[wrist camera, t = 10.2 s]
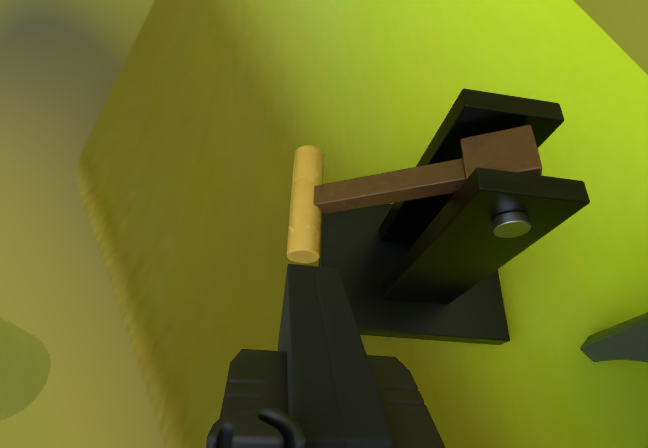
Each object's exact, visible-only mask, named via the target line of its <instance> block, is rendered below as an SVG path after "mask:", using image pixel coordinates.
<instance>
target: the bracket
mask: <svg viewBox="0 0 648 448" xmlns="http://www.w3.org/2000/svg"><path fill="white" fill-rule="evenodd" d="M563 122H564V117H563V114H562V111H561V107H560V104H558V103H553V102H547V101H540V100H534V99H527V98H521V97H515V96H508V95H502V94H495V93H489V92H482V91H476V90H470V89H463V90H462V91H461V93H460V94H459V96H458V98H457V99H456V101H455V103H454V104H453V106H452V108H451V109H450V111H449V113H448V114H447V116H446V118H445V119H444V121H443V123H442V124H441V126H440V128H439V129H438V131H437V133H436V134H435V136H434V138H433V139H432V141H431V143H430V144H429V146H428V148H427V149H426V151H425V152H424V154H423V156H422V157H421V159H420V161H419V162H418V164H417V166H416V167H419V166H425V165H430V164H435V163H441V162H446V161H451V160H457V159H463V155H462V149H461V142H460V140H461V139H462V138H467V137H471V136H476V135H481V134H486V133H491V132H496V131H501V130H506V129H511V128H516V127H521V126H526V125H531V126H532V130H533V134H534V138H535V141H536V145H537V148H538V147H539V146H540V145H541V144H542V143H543V142H544V141H545V140H546V139H547V138H548V137H549V136H550V135H551V134H552V133H553V132H554V131H555V130H556V129H557V128H558V127H559V126H560V125H561V124H562V123H563ZM589 203H590V200H589V197H588V194H587V191H586V187H585V184H584V182H583V181H578V180H570V179H563V178H555V177H547V176H540V175H532V174H524V173H517V172H509V171H502V170H494V169H486V168H479V167H477V168H475V170H474V171H473V172H472V173H471V175H470V176H469V177H468V178H467V179H466V181H465V182H464V183H463V184H462V186H461V187H460V188H459V189H458V190H457V192H456V193H449V194H443V195H437V196H431V197H425V198H419V199H412V200H406V201H400V202H394V204H382V205H375V206H369V207H363V208H357V209H351V210H345V211H338V212H332V213H326V214H322V219H321V244H320V258H319V267H327V268H338V269H339V273H340V276H341V279H342V282H343V285H344V288H345V291H346V294H347V297H348V300H349V303H350V306H351V309H352V312H353V315H354V319H355V322H356V325H357V328H358V331H359V334H360V335H373V336H386V337H400V338H413V339H427V340H440V341H454V342H467V343H480V344H494V345H501V344H503V343H506V342H508V341H510V338H509V332H508V326H507V321H506V315H505V309H504V303H503V298H502V292H501V286H500V281H499V275H498V268H500V267H501V266H503V265H504V264H505V263H507V262H508V261H510V260H511V259H512V258H514V257H515V256H516V255H518V254H519V253H521V252H522V251H523V250H525V249H526V248H528V247H529V246H530V245H532V244H533V243H535V242H536V241H537V240H539V239H540V238H542V237H543V236H544V235H546V234H547V233H549V232H550V231H551V230H553V229H554V228H555V227H557V226H558V225H560V224H561V223H562V222H564V221H565V220H567V219H568V218H569V217H571V216H572V215H574V214H575V213H576V212H578V211H579V210H581V209H582V208H583V207H585V206H586V205H588V204H589Z"/></svg>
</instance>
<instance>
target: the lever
mask: <svg viewBox="0 0 648 448" xmlns="http://www.w3.org/2000/svg"><path fill="white" fill-rule="evenodd" d="M460 142H461V149H462V155H463V159H457V160H451V161H446V162H441V163H435V164H430V165H425V166H419V167H414V168H408V169H403V170H398V171H392V172H387V173H382V174H376V175H371V176H366V177H360V178H355V179H350V180H344V181H339V182H333V183H328V184H323V170H324V153H323V151H322V150H321V149H320V148H318V147H315V146H311V145H306V146H302V147H299V148H298V149H297V150H296V152H295V157H294V169H293V181H292V194H291V206H290V218H289V230H288V243H287V258H288V259H289V260H291V261H294V262H297V263H312V262H316V261H317V260H319V258H320V244H321V219H322V214H326V213H332V212H338V211H345V210H351V209H357V208H363V207H369V206H375V205H382V204H388V203H394V202H400V201H406V200H412V199H419V198H425V197H431V196H437V195H443V194H449V193H456V192H457V190H458V189H459V188H460V187H461V186H462V184H463V183H464V182H465V181H466V179H467V178H468V177H469V176H470V175H471V173H472V172H473V171H474V170H475V168H477V167H479V168H486V169H494V170H502V171H509V172H517V173H524V174H532V175H540V176H541V174H542V164H541V160H540V157H539V153H538V149H537V145H536V141H535V138H534V134H533V130H532V126H531V125H526V126H521V127H516V128H511V129H506V130H501V131H496V132H491V133H486V134H481V135H476V136H471V137H467V138H462V139H461V140H460Z"/></svg>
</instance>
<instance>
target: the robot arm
mask: <svg viewBox="0 0 648 448" xmlns="http://www.w3.org/2000/svg"><path fill="white" fill-rule="evenodd" d="M206 448H445V446H444V443H443V441H442V439H441V437H440V435H439V433H438V431H437V428H436V426H435V424H434V422H433V420H432V418H431V415H430V413H429V411H428V409H427V407H426V405H424V400H423V398H422V396H421V394H420V392H419V391H418V387H417V385H416V383H415V381H414V379H413V377H412V374H411V372H410V371H409V370H408V369H407V368H406V367H405V366H404V365H403V364H402V363H401V362H400V361H399V360H398V359H397V358H396V357H388V356H372V355H366V352H365V349H364V346H363V343H362V340H361V337H360V334H359V331H358V328H357V325H356V322H355V319H354V315H353V312H352V309H351V306H350V303H349V300H348V297H347V294H346V291H345V288H344V285H343V282H342V279H341V276H340V273H339V269H338V268H327V267H316V266H305V265H294V264H288V267H287V275H286V284H285V292H284V300H283V308H282V317H281V325H280V333H279V342H278V351H266V350H250V349H242V350H241V351H240V352H239V353H238V355H237V356H236V357H235V358H234V359H233V360H232V361H231V362H230V367H229V372H228V378H227V383H226V388H225V394H224V399H223V404H222V410H221V415H220V419H219V420H218V421H216V422H215V423H214V424H213V426H212V428H211V430H210V433H209V435H208V437H207V444H206Z"/></svg>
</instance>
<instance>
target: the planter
mask: <svg viewBox="0 0 648 448" xmlns="http://www.w3.org/2000/svg"><path fill="white" fill-rule="evenodd" d="M580 349H581V350H582V351H583V352H584V353H585V354H586V355H587V356H588V357H589V358H590V359H591V360H592V361H594V362H597V361H607V360H635V361H643V362H648V313H645V314H643V315H640V316H638V317H636V318H633V319H631V320H628V321H626V322H623V323H621V324H618V325H616V326H613V327H611V328H608V329H606V330H603V331H601V332H598V333H596V334H594V335H591V336H589V337H588V338H587V340H586V341H585V342H584V344H583V345H582V347H581V348H580Z"/></svg>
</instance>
